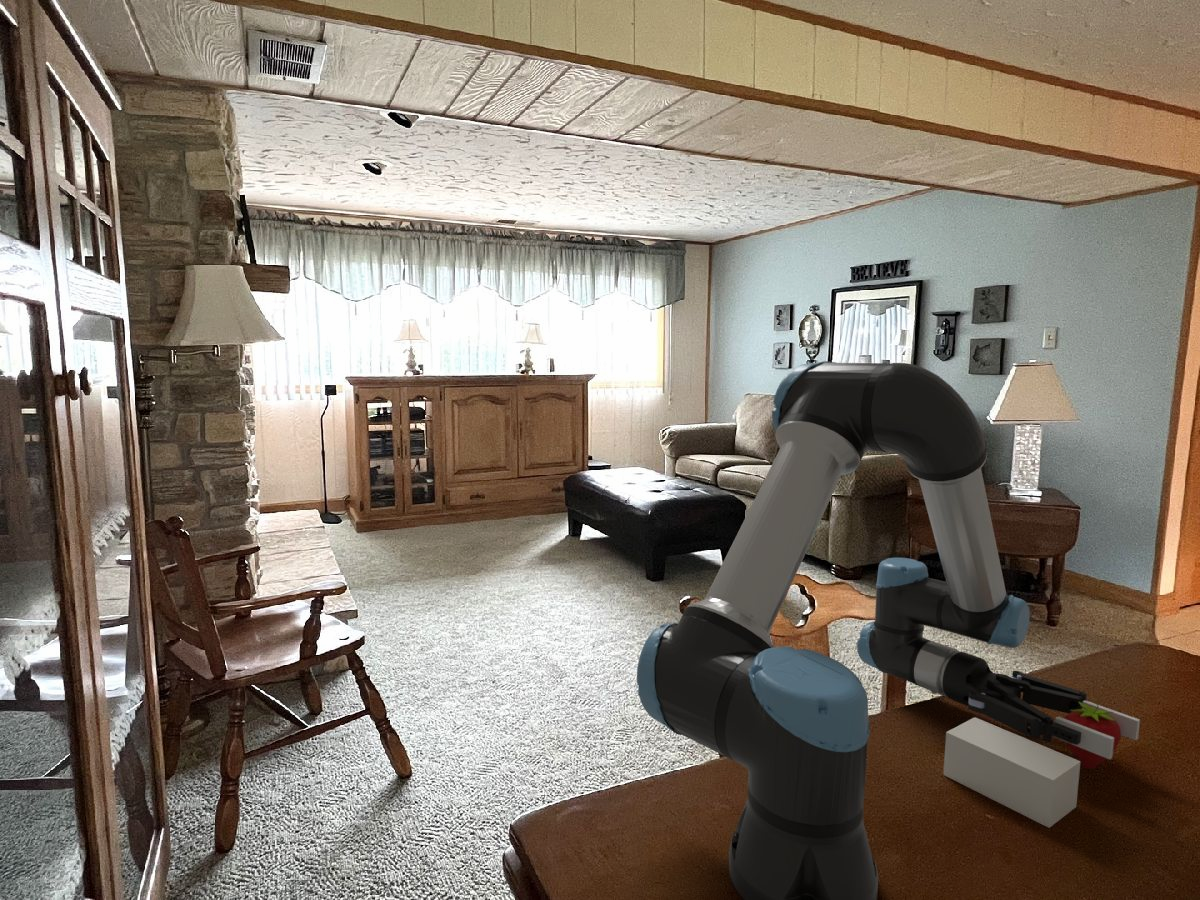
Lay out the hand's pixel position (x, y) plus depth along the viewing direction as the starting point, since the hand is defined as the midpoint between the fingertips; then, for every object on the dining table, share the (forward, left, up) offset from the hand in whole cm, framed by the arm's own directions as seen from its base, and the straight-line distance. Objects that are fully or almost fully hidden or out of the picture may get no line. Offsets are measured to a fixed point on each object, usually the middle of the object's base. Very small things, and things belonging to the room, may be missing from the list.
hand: (1124, 739), depth 92 cm
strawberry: (0, +4, -6) cm, 7 cm away
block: (-14, +7, -6) cm, 17 cm away
